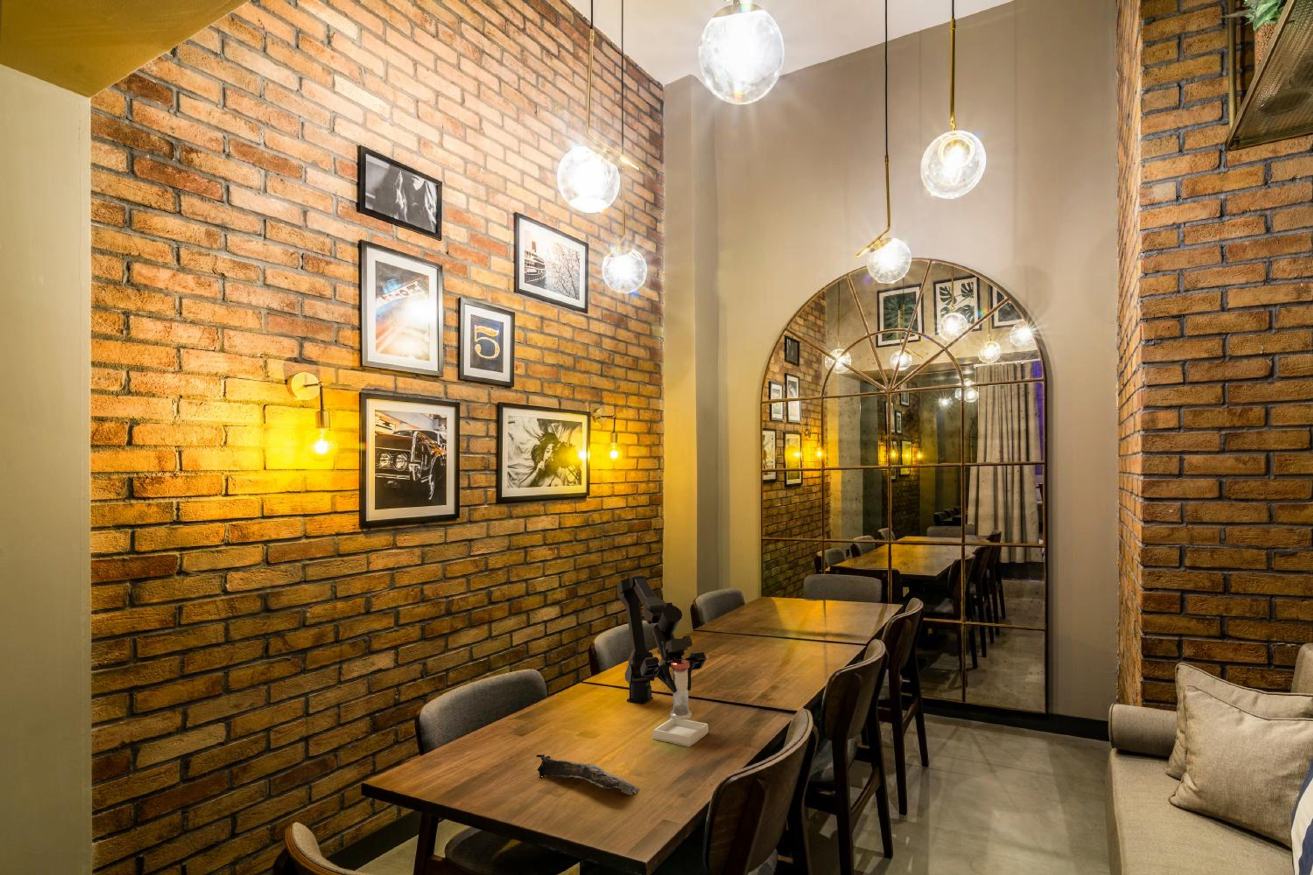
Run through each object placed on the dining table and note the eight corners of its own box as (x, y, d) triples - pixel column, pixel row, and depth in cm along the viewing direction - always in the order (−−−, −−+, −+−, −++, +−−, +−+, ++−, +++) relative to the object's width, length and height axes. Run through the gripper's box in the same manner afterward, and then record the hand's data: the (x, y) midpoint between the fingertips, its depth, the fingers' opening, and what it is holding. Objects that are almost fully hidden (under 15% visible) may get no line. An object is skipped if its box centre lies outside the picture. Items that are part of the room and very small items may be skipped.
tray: (653, 739, 183) (653, 729, 183) (673, 725, 192) (673, 716, 193) (689, 746, 177) (689, 737, 177) (708, 732, 187) (708, 723, 187)
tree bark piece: (543, 782, 166) (521, 767, 160) (560, 748, 170) (539, 733, 164) (629, 823, 150) (608, 809, 144) (645, 784, 154) (626, 769, 148)
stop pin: (666, 714, 186) (665, 661, 187) (684, 710, 189) (683, 658, 190) (677, 721, 181) (676, 666, 182) (695, 717, 184) (695, 663, 185)
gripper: (643, 629, 187) (659, 680, 176) (703, 622, 194) (721, 671, 183) (633, 650, 193) (648, 701, 183) (692, 644, 201) (709, 692, 190)
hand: (682, 691), depth 184 cm, fingers closed on stop pin, 4 cm apart
